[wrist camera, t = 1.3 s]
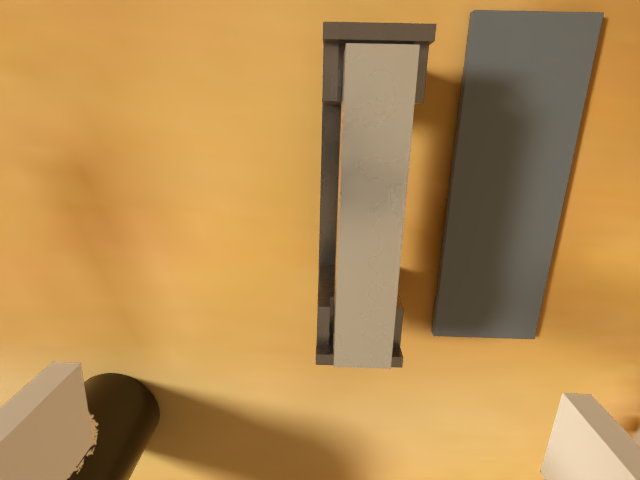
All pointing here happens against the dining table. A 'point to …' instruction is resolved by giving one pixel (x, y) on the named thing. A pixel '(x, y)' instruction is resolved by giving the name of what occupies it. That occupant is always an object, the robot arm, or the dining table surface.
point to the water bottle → (116, 427)
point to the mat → (511, 167)
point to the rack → (331, 123)
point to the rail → (372, 198)
